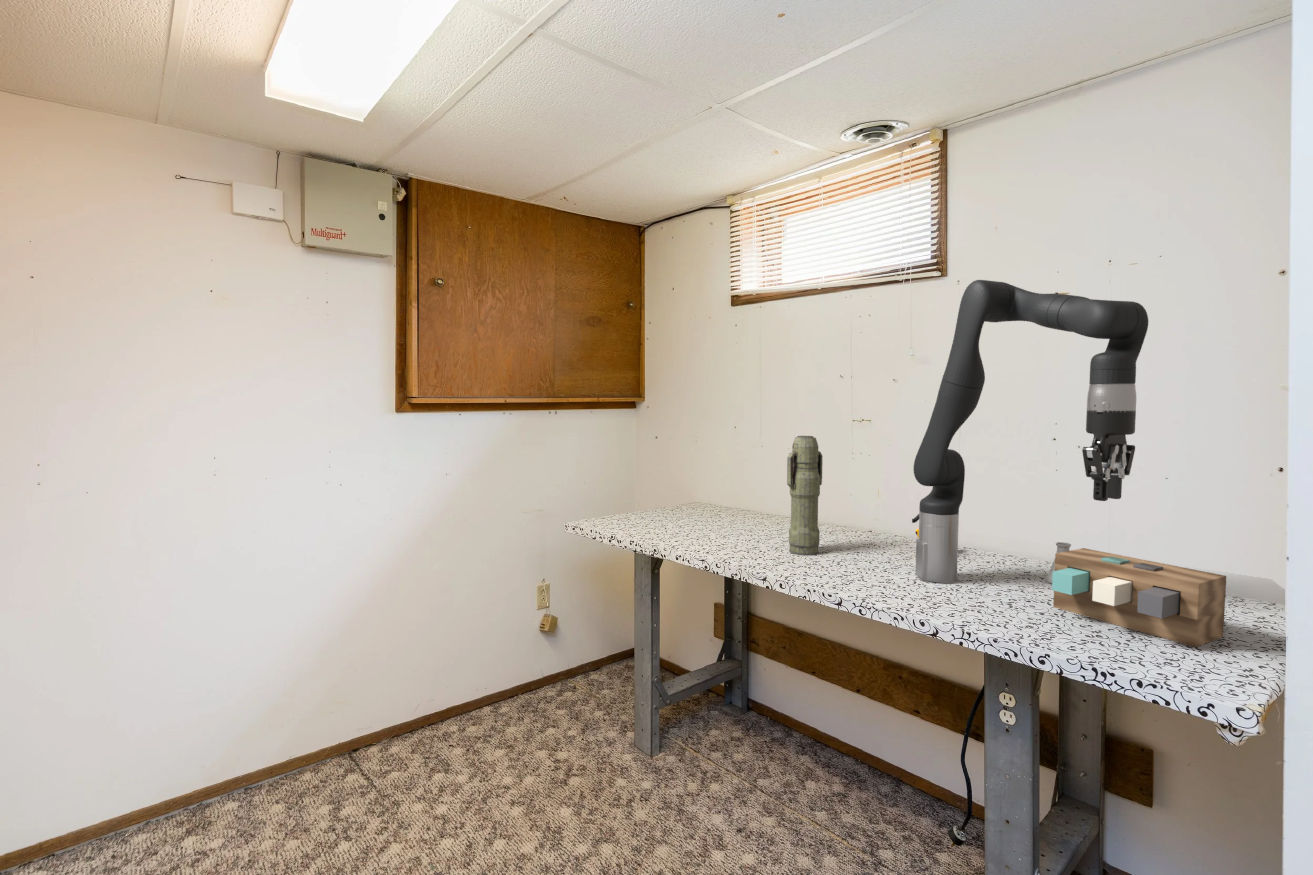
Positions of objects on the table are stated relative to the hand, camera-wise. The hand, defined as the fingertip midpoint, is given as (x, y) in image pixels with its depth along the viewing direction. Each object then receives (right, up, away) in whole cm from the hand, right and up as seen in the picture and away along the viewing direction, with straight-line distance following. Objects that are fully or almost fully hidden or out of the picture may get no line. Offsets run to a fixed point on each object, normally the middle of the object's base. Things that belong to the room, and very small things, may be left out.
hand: (1107, 499), depth 120 cm
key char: (+12, -22, +2) cm, 25 cm away
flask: (+17, -25, +40) cm, 50 cm away
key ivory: (+8, -21, +9) cm, 24 cm away
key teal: (+4, -21, +16) cm, 27 cm away
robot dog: (-5, -23, +68) cm, 72 cm away
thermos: (-41, -23, +72) cm, 86 cm away
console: (+14, -26, +12) cm, 32 cm away
